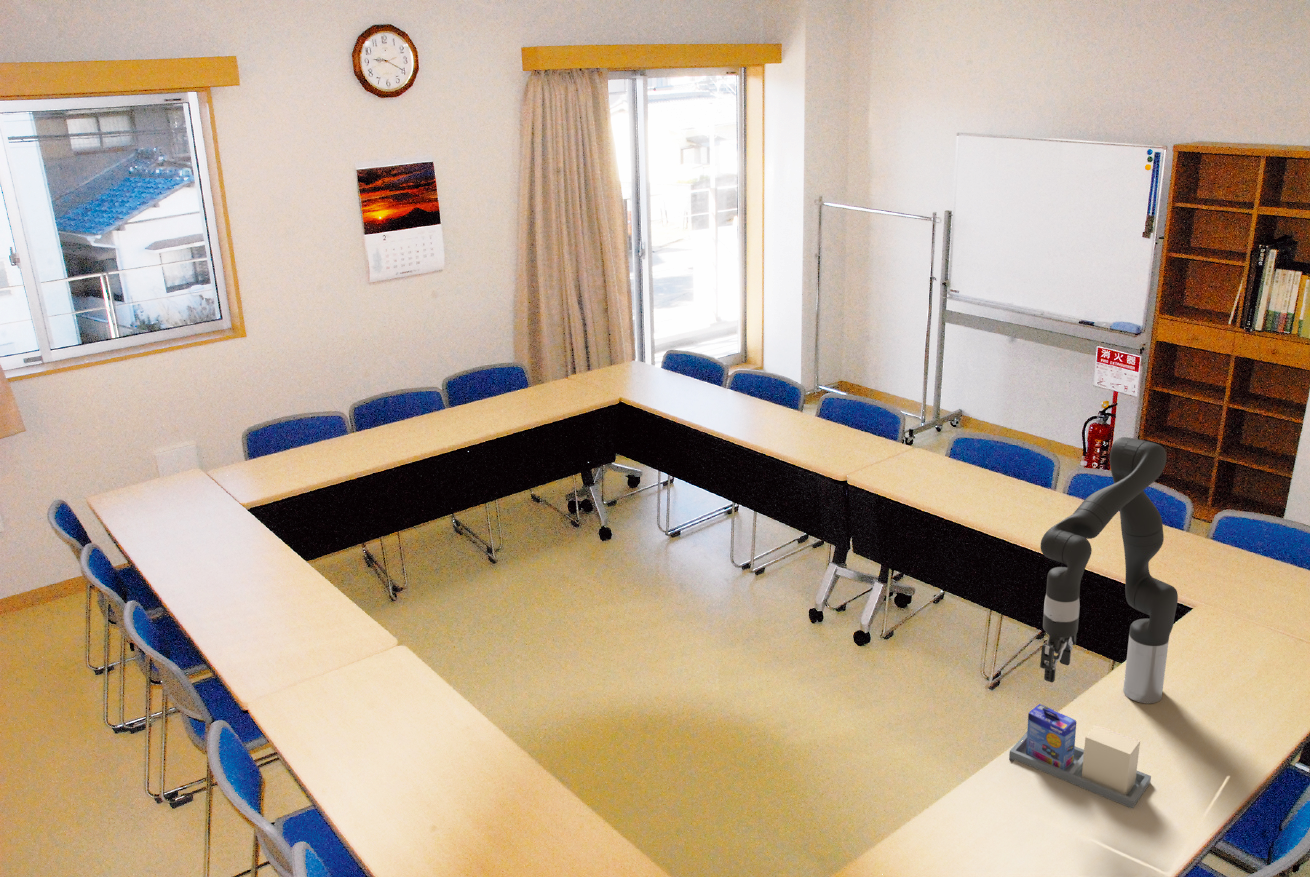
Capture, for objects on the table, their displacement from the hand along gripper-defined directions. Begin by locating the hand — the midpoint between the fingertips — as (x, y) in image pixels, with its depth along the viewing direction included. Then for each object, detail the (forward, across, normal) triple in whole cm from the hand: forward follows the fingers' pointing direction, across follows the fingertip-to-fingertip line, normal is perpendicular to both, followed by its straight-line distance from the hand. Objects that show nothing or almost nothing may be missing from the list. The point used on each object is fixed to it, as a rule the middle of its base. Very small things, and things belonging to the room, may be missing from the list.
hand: (1057, 672), depth 244 cm
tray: (+24, +1, +7) cm, 25 cm away
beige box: (+24, +1, +14) cm, 28 cm away
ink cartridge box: (+24, +1, 0) cm, 24 cm away
